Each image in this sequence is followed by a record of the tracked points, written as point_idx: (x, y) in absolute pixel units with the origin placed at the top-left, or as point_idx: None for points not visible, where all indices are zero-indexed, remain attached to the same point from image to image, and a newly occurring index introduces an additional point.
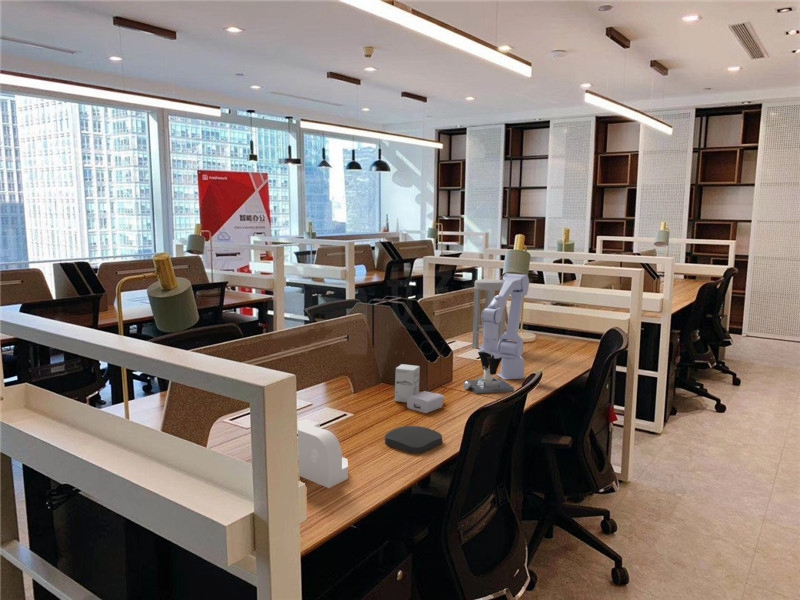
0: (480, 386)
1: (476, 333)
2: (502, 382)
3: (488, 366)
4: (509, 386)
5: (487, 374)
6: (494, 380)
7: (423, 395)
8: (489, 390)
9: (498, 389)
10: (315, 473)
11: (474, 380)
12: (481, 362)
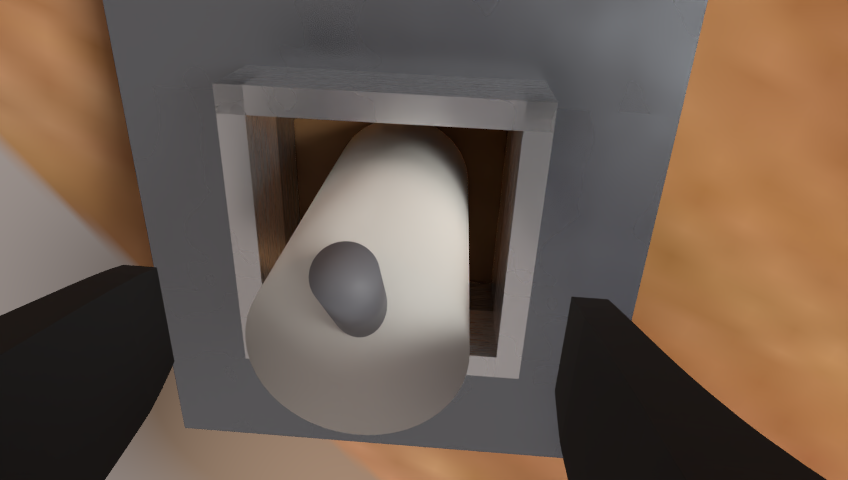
0: (294, 21)
1: None
2: None
3: (565, 448)
4: (239, 406)
5: (287, 243)
6: None
7: None
8: (132, 97)
9: (152, 236)
10: None
11: (670, 80)
12: (693, 387)
